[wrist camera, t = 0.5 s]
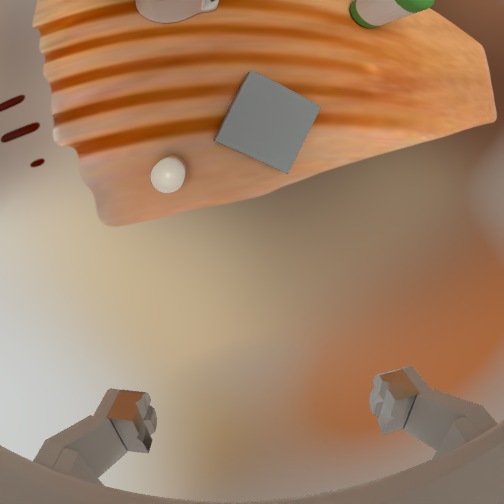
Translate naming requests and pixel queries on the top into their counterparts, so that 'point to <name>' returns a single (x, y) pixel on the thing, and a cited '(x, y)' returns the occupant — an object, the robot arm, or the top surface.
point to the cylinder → (168, 174)
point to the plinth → (267, 122)
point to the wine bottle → (385, 10)
